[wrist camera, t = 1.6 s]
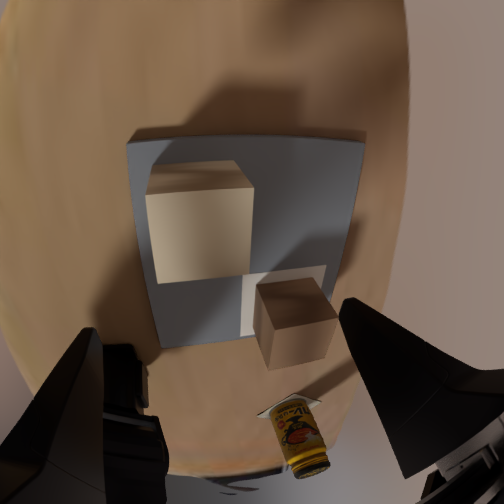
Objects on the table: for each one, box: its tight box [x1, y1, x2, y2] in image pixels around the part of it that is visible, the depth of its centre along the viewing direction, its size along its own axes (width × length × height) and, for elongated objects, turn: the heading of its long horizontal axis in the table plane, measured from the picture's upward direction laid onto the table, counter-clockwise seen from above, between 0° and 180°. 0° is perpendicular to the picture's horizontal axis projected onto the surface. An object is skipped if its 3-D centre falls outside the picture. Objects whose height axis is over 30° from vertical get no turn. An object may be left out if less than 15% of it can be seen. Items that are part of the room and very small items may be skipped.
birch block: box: [145, 160, 254, 284], centre depth 16 cm, size 5×5×5 cm
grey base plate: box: [126, 135, 365, 348], centre depth 22 cm, size 16×18×1 cm
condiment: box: [256, 394, 330, 479], centre depth 36 cm, size 7×8×12 cm
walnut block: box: [253, 277, 339, 371], centre depth 23 cm, size 5×5×5 cm
